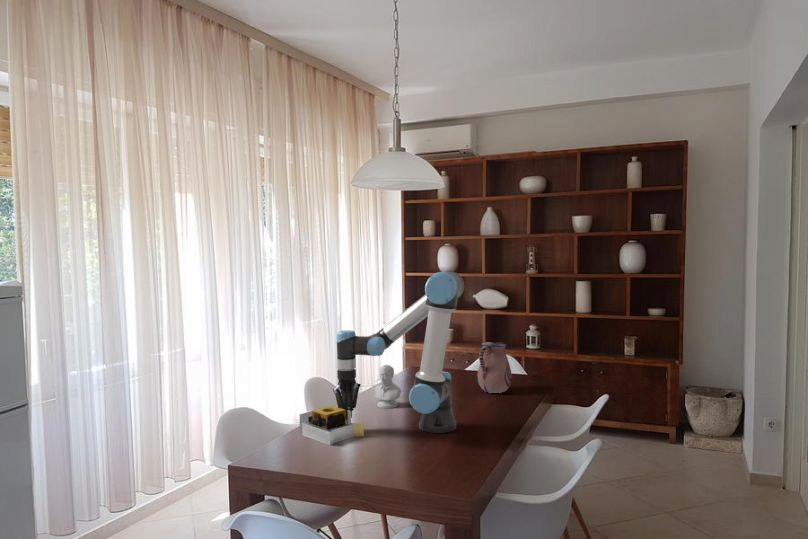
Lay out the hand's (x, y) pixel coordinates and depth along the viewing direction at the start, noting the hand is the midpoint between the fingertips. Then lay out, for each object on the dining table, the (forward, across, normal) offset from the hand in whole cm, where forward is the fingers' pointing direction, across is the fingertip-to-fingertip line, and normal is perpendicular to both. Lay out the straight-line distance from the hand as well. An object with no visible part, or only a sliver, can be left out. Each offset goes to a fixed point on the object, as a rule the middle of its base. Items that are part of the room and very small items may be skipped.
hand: (347, 426), depth 227 cm
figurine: (+2, -37, -15) cm, 40 cm away
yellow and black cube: (+2, +9, -1) cm, 9 cm away
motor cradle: (+2, +8, -1) cm, 8 cm away
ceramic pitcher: (+2, -90, +8) cm, 90 cm away
